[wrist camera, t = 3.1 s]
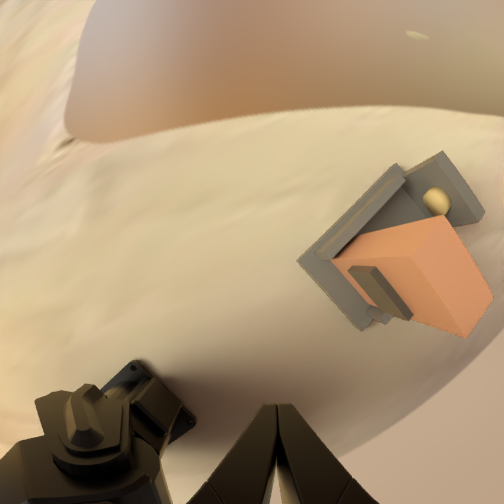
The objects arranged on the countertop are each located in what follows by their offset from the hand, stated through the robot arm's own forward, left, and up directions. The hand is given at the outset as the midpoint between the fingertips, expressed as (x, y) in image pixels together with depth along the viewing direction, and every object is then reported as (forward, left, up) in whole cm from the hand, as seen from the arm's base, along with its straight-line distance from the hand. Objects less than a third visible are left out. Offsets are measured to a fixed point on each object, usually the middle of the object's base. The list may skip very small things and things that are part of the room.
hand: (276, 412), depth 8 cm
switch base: (+10, -2, -12) cm, 15 cm away
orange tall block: (+7, -2, -10) cm, 13 cm away
